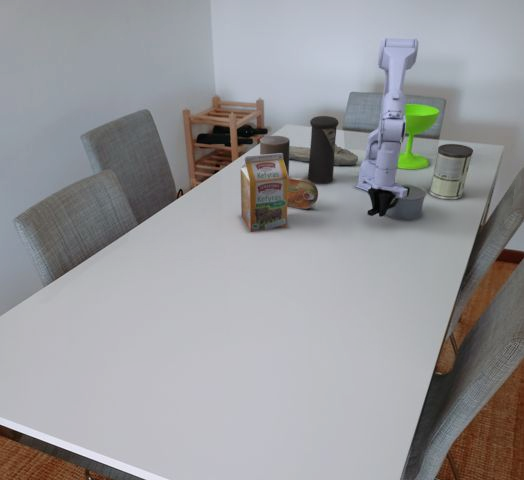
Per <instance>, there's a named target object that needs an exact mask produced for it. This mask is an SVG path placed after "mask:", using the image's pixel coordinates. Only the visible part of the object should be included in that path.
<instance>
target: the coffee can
mask: <svg viewBox="0 0 524 480" xmlns="http://www.w3.org/2000/svg"><path fill="white" fill-rule="evenodd" d="M436 154H437V155H436V158H435V164H434V168H433V173H432V178H431V183H430V188H429V191H428V192H429V194H430V195H431V196H433V197H435V198H438V199H441V200H457V199H460V198H462V196H463V192H464V188H465V184H466V180H467V177H468V171H469V168H470V164H471V159H472V157H473V156H472V155H473V154H474V149H473V148H472V147H470V146H468V145H465V144H460V143H459V144H457V143H446V144H441V145H439V146H438V148H437V153H436Z"/></svg>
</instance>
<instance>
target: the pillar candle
mask: <svg viewBox="0 0 524 480" xmlns="http://www.w3.org/2000/svg"><path fill="white" fill-rule="evenodd" d="M289 146H290V138H288V137H287V136H283V135H267V136H263V137H261V138H259V155H266V154H278V153H282V154H283V160H284V163H285V167H286V170H287V174H288V177H290V176H289V175H290V159H289Z"/></svg>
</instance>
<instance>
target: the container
mask: <svg viewBox="0 0 524 480" xmlns="http://www.w3.org/2000/svg"><path fill="white" fill-rule="evenodd" d="M339 124H340V123H339V120H338V118H336V117H335V116H334V117H333V116H329V115H319V116H317V115H316V116H314V117H312V118H311V119H310V121H309V125H310V126H311V133H310V135H311V136H310V147H309V148H310V159H309V162H308V170H307V180H309V181H311V182H313V183H314V184H319V185H320V184H321V185H323V184H330V183H332V182H333V180H334V166H335V165H334V154H335V144H336V138H337V127H338V126H339Z"/></svg>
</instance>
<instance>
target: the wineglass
mask: <svg viewBox="0 0 524 480" xmlns="http://www.w3.org/2000/svg"><path fill="white" fill-rule="evenodd" d="M405 115H406V132H405V134H407V142H406V148H405V152H400V154H399V160H398V166H397V169H402V170H421V169H424V168H427V167H428V166H429V165H430V163H429V162H430V161H429V160H428V159H427V158H426V157H425V156H423V155H420V154H417V153H412V148H413V143H414V138H415V135H419V134H422V133H425V132H427V131H429V129H431V127H432V126H433V125H434V124H435V123H436V121H437V120H438V118H439V115H440V110H439V109H438V108H437V107H434V106H430V105H426V104H416V103H406V105H405Z"/></svg>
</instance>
